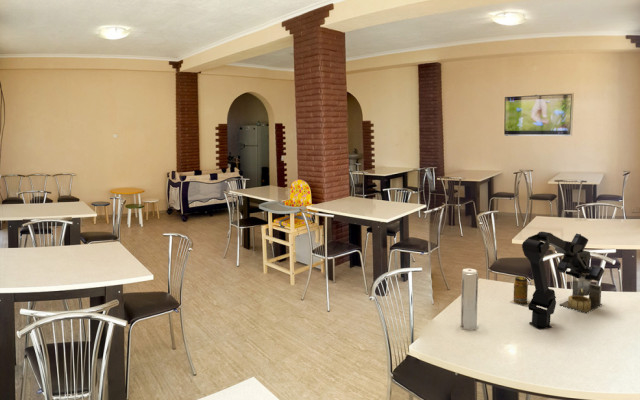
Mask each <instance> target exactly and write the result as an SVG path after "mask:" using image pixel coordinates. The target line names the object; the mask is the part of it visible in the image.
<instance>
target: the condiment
mask: <svg viewBox="0 0 640 400" xmlns="http://www.w3.org/2000/svg"><path fill="white" fill-rule="evenodd" d="M514 279H515V280H514V284H513V299H512V300H510V301H509V303H513V304H516V305H520V306H525V307H528V305H529V303H530V302H531V300H530V301H529V300H528V288H529V287H528V286H529V285H528V278H527V277H525V276H516V277H515V278H514Z"/></svg>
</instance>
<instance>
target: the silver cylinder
mask: <svg viewBox="0 0 640 400" xmlns="http://www.w3.org/2000/svg"><path fill="white" fill-rule="evenodd" d="M478 287H479V272H478V270H477V269H474V268H469V267H468V268H463V269H462V271H461V293H460V294H461V295H460V297H461V298H460V327H461V329H463V330H467V331H475V330H476V329H477V328H478V297H479V296H478V295H479V293H478V289H479V288H478Z"/></svg>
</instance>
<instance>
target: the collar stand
mask: <svg viewBox="0 0 640 400" xmlns="http://www.w3.org/2000/svg"><path fill="white" fill-rule="evenodd" d="M602 287H603V286H602V285H598V284H593V283H590V287H589V295H588V296H583V295H579V294H578V279H577V280H576V279H574V280H572V293H571V294H572V295H569V296H568V299H567V300H566V301H564V302H562V303H560V304H559V306H560V307H562V306H563V307H562V308H566V307H567V309H569V308H571V309H570V310H573V309H574V310H573V311H576V310H577V312H580V311H581V312H580V313H583V312H585V313H584V314H588V313H590V312H591V310H592V311H594V310H596V309H597V308H596V307H598V306H599V307H601V306H602V303H601V301H602ZM600 305H601V306H600ZM599 307H598V308H599ZM595 308H596V309H595ZM593 309H594V310H593ZM589 311H590V312H589ZM587 312H588V313H587Z"/></svg>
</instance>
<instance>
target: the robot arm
mask: <svg viewBox="0 0 640 400" xmlns="http://www.w3.org/2000/svg"><path fill="white" fill-rule="evenodd" d="M588 243H589V239H588V238H587V237H585V236H583V235H581V233H575V235H574V236H573V238H572V240H571V241H569V240H564V239H562V238H560V237H558V236H556V235H554V234H553V233H552V232H547V231H539V232H537V233H536V234H534V235H532V236H529V237H528V238H526V239H525V240H523V242H522V244H521V250H522V252H523V255H524V257H525V258H527V259H528V261H529V264H530V268H531V274H532V277H533V278H532V279H533V282H534V288H535V290H534V291H533V294H532V298H531V300H530V303H529V305H528V306H527V307H528V311H531V313H532V314H531V321H530V322H529V323H528V324H529V325H530V326H533V327H535V328H536V329H538V330H544V329H552V328H553V325H551V316H552V315H553V314H555V310H556V306H557V305H556V304H557V301H556V299H557V296H556V292H555V290H554V289H552V288H550V287H549V285H548V280H547V279H548V278H547V273H546V268H545V262H544V258H545V257H546V254H547V251H548V250H549V249H550V246H551V247H553V248H554V251H556V252H557V253H558V254H562V255H563V257H562V258H560V260H559V261H558V264H557V266H556V270H557V271H558V272H559V273H563V274H566V275H567V276H570V277H574V278H576V279H578V277H579V274H581V275H582V274H585V273H586V274H587V275H586V277H585V279H586V280H588V281H590V283H591V282H592V281H596V282H599V281H601V279H602V276H603V274H604V272H605V270H604V268H603V267H601V266H597V265H593V266H588V265H589V263H588V262H589V261H590V260H592V257H591V252H590V251H588V250H585V248H586V246H587V244H588Z"/></svg>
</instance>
